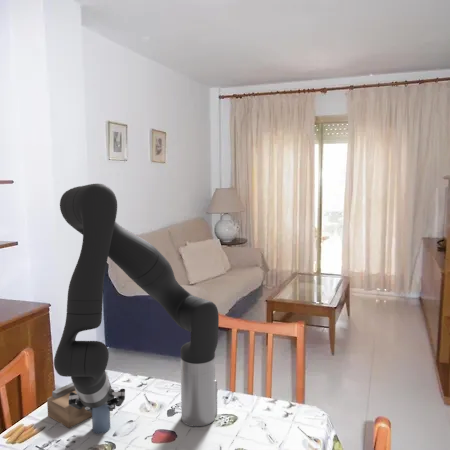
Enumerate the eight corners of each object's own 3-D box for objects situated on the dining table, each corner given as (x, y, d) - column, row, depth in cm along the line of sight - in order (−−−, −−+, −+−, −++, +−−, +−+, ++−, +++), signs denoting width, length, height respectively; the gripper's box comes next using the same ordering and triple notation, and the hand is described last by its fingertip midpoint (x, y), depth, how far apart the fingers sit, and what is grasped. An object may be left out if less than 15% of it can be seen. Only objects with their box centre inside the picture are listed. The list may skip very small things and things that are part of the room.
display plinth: (79, 400, 127) (78, 379, 126) (100, 411, 121) (99, 389, 120) (47, 415, 119) (46, 393, 118) (69, 428, 113) (68, 404, 112)
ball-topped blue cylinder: (103, 421, 116) (102, 386, 115) (114, 427, 113) (113, 391, 112) (88, 429, 112) (86, 393, 111) (99, 435, 109) (98, 398, 108)
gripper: (124, 368, 104) (129, 391, 117) (63, 372, 102) (75, 395, 115) (123, 400, 99) (128, 420, 113) (59, 404, 97) (72, 425, 111)
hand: (101, 407), depth 114 cm, fingers closed on ball-topped blue cylinder, 4 cm apart
